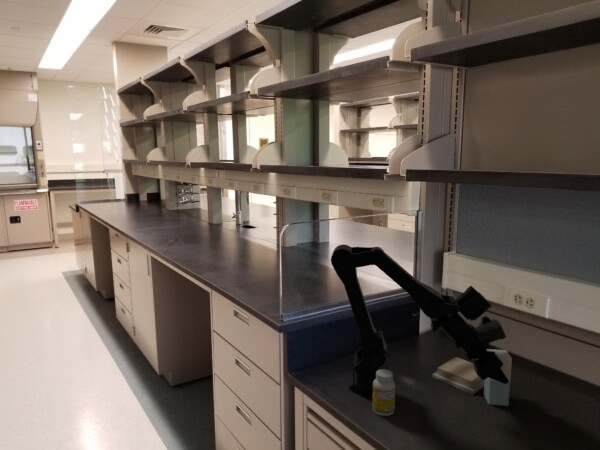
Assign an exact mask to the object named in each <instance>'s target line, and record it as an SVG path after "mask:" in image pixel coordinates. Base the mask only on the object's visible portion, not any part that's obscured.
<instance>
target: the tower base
mask: <svg viewBox="0 0 600 450" xmlns="http://www.w3.org/2000/svg"><path fill="white" fill-rule="evenodd" d="M473 366H474V362H471V361H468V360H465V359H463V358H460V357H457V356H455V357H454V358H451V359H449V360H448V361H447V362H444V363H443V364H441V365H440V366H438V367H437V369H436V371H435V372H433V373H432V374H431V378H432V377H434V378H436V379H435V380H437V379H439V380H440V381H439V380H438V381H439V382H441V381H443V382H442V383H444V382H445V383H444V384H446V383H447V384H446V385H448V384H449V386H451V385H452V386H451V387H453V386H454V387H453V388H455V387H456V389H458V388H459V389H458V390H460V389H461V390H460V391H463V392H465V391H466V392H465V393H467V392H468V393H467V394H470V395H472V396H473V394H474V395H475V394H476V393H478V392H479V391H480V390H481V389H482V390H483V388H484V384H485V380H482V379H481V378H480V377H479V376H478V375H477V374H476V372H475V370H474V368H473ZM434 378H433V379H434Z"/></svg>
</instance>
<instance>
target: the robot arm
mask: <svg viewBox="0 0 600 450" xmlns="http://www.w3.org/2000/svg"><path fill="white" fill-rule="evenodd" d="M330 264H331V266H332V267H333V270H334V271H335V274H336V275H337V277H338V278H339V280H340V281H341V282H342V284H343V286H344V290H345V293H346V296H347V299H348V302H349V306H350V307H351V308H350V309H351V311H352V313H353V314H352V315H353V316H354V319H355V323H356V326H357V329H358V332H359V336H360V344H361V348H360V349H358V350H357V351H356V352H355V354H354V355H355V356H354V357H355V359H354V364H353V367H352V384H351V385H349V386H348V389H349V391H352V392H354V393H356V394H358V395H360V396H362V397H364V398H365V399H369V398H371V397H373V381H374V380H375V379H376V371H377V370H380V369H379V368H381V367H382V366H384V364H385V362H386V361H387V357H386V355H388V346H387V345H388V344H387V342H386V340H385V339H384V334H383V330H382V329H380V330H378V331H377V329H376V328H375V326H374V323H373V320H372V317H371V315H370V312H369V308H368V306H367V303H366V300H365V296H364V293H363V290H362V287H361V284H360V281H359V278H358V271H357V268H362V267H363V268H364V267H368V266H376V267H377V268H378V269H379V270H380V271H381V272H383V274H385V275H386V276H388V277H389V278H390V279H391V280H392V281H393V282H394V283H396V285H398V286H399V287H400V288H402V289H403V290H404V291H405V292H406V293H407V294H408V295H409V296H410V297H411V299H412V300H413V301H414V302H415V304H416V305H417V307H418V308H419V309H420V310H421V312H423V313H424V315H425V316H426V317H428V318H429V319H430V326H429V327H430V328H431V331H432V332H433V333H434V332H436V331H438V330H439V329H441V330H442V331H443V332H444V333H445V334H446V335H447V337H449V338H450V340H451V341H453V343H454V344H455V346H456V348H458V349H460V350H461V351H462V352H463V353H464V355H466V357H467V359H469V361H471V360H475V361H473V363H474V366H473V368H474V370H475V372H476V374H477V375H478V376H479V377H480V378H481V379H482V380H485V379H486V378H491V379H494V380H496V381H499V382H502V383H504V384H507V383H508V382H509V380H508V379H507V377H506V376H505V374H504V373H503V371H502V370H501V367H502V366H503V362H502V361H501V359H500V358H499V356H497V354H496V353H495V352H491V351H487V349H490V348H491V347H490V344H491V343H492V342H496V341H499V340H503V339H505V338H507V335H506V333H505V331H504V328H503V327H502V324H501V323H500V322H499V320H497V319H495V318H493V319H491V318H490V317H489V316H487V315H484V316H482V315H483V314H485V313H486V312H488V311H489V310H490V309H491V308H492V307H493V305H492V304H491V302H489V301H488V299H486V297H485V296H484V295H482V293H481V292H480V291H477V289H475V287H474V286H472V285H470V286H468V287H467V288H466V289H465V291H464V292H463V293H461V294H460V295H459V296H458V297H456V298H455V296H452V295H447V294H441V293H440V292H439V291H438V290H436V289H434V288H433V287H432V286H430V285H427V284H425V283H423V282H421V281H419V280H418V279H417V278H416V277H414V276H413V275H412V274H411V273H410V272H409V271H407V270H406V268H404V267H402V266H401V265H400V264H399V263H398V262H397V261H396V260H394V258H392V257H391V256H390V255H388V254H387V253H386V252H385V251H384V249H383V248H382V247H379V246H371V247H369V246H368V247H366V246H353V247H352V246H350V245H348V244H343V243H342V244H340V245H337V246H336V247H335V248H334V249H333V252H332V254H331V258H330ZM459 313H460V314H461V315H460V314H459ZM463 317H464V318H465V319H466V320H467V321H469V320H470V321H471V322H472V321H476V320H478V318H480V323H479V324H478V325H477V326H476V327H475V326H474V325H473V324H471V323H468V322H467V321H466V320H465V319H464V318H463Z"/></svg>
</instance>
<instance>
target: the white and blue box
mask: <svg viewBox="0 0 600 450" xmlns="http://www.w3.org/2000/svg"><path fill="white" fill-rule="evenodd" d="M487 351H491V352H495V353H496V354H497V356H499V358H500V359H501V361H502V362H503V366H502V367H501V370H502V371H503V373H504V374H505V376H506V377H507V379H508V380H509V382H508V383H507V384H504V383H502V382H499V381H496V380H494V379H491V378H486V379H485V384H484V387H483V388H484V389H483V395H484V398H485V400H486V402H487V404H488V405H493V406H503V407H505V406H506V407H508V406H509V404H510V401H509V399H510V391H511V390H510V388H511V375H512V374H511V373H512V363H513V358H512V357H511V355H510V354H509V352H508V351H507V350H506V349H493V348H492V349H491V348H489V349H487Z"/></svg>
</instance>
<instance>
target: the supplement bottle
mask: <svg viewBox="0 0 600 450" xmlns="http://www.w3.org/2000/svg"><path fill="white" fill-rule="evenodd" d="M393 379H394V373H393V372H392V371H391V370H388V369H383V368H380V369H379V370H377V371H376V379H375V380H374V381H373V395H372V399H371V400H372V403H371V404H372V406H371V407H372V411H373V412H374V413H375V414H377V415H378V416H383V417H388V416H391V415H393V414H394V412H395V407H396V405H395V404H396V383H395V381H394V380H393Z"/></svg>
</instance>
